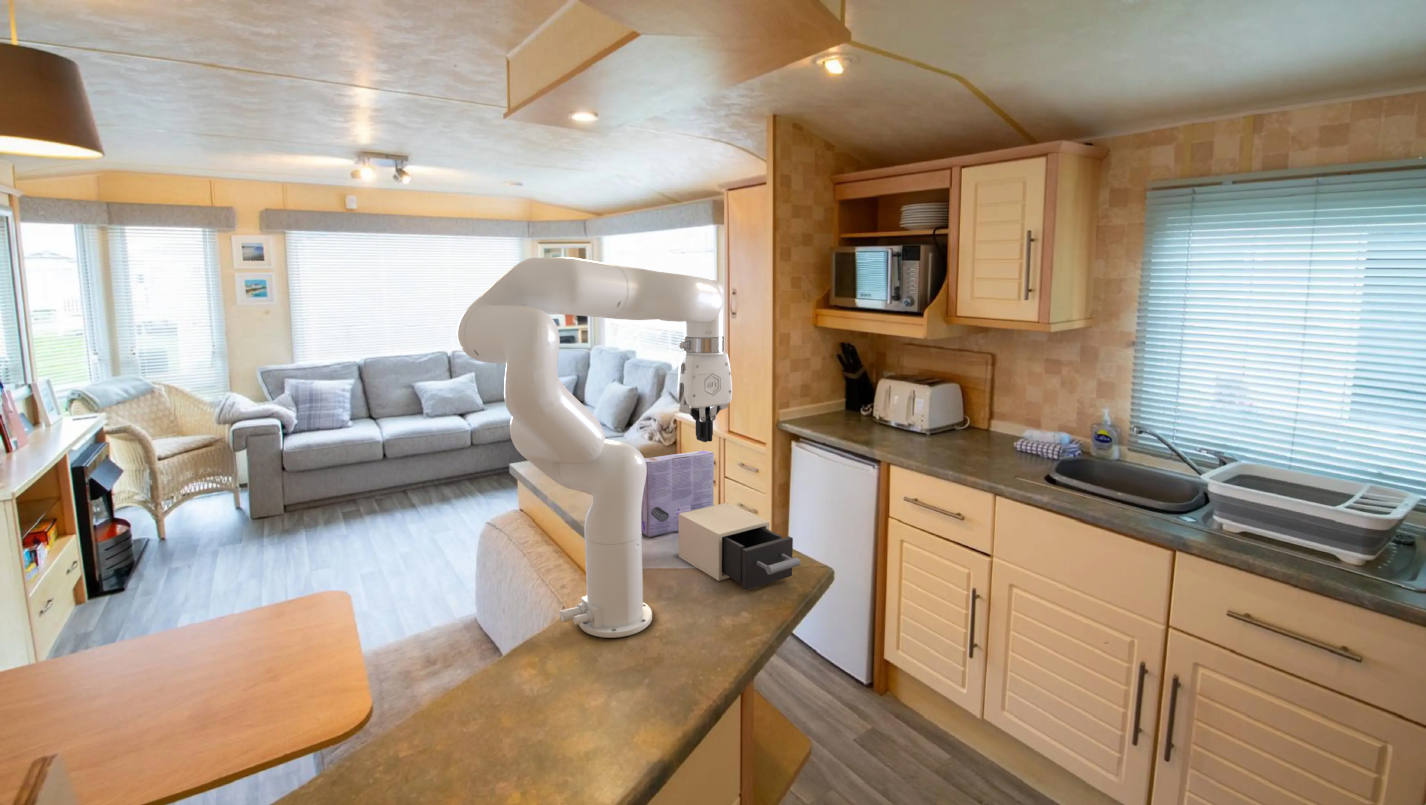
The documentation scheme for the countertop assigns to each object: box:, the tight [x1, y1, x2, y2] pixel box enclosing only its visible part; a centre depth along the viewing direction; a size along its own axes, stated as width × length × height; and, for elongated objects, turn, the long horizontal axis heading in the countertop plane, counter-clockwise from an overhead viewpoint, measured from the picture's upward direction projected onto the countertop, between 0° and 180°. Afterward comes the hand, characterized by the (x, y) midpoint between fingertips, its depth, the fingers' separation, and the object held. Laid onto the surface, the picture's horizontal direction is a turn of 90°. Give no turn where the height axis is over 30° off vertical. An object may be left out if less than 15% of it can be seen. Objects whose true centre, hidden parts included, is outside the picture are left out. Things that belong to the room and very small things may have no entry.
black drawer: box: [722, 527, 801, 591], centre depth 135 cm, size 18×11×8 cm, turn 35°
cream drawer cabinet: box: [678, 502, 770, 582], centre depth 144 cm, size 15×13×10 cm
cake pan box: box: [641, 450, 715, 538], centre depth 163 cm, size 19×5×18 cm, turn 123°
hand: (704, 440), depth 135 cm, fingers closed
